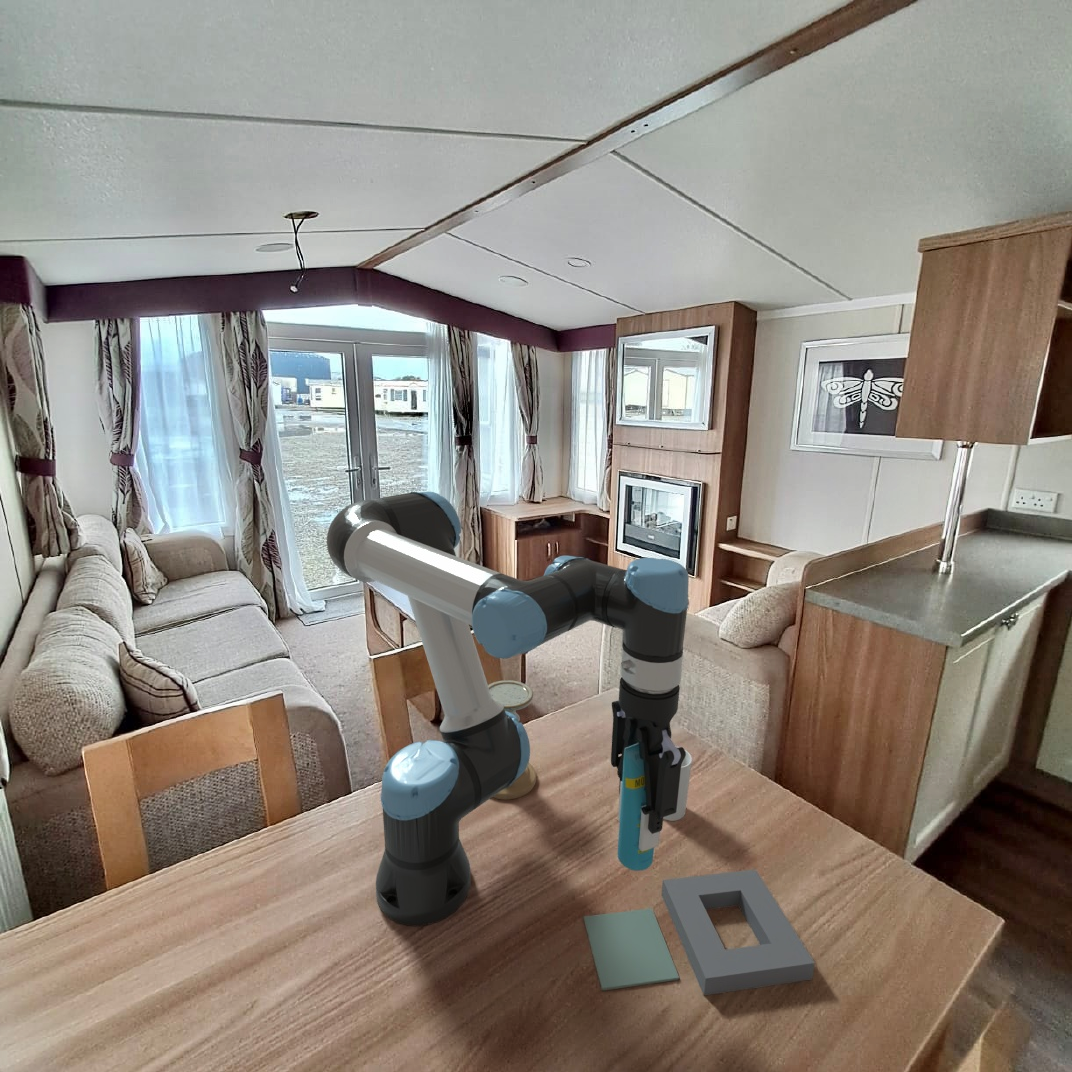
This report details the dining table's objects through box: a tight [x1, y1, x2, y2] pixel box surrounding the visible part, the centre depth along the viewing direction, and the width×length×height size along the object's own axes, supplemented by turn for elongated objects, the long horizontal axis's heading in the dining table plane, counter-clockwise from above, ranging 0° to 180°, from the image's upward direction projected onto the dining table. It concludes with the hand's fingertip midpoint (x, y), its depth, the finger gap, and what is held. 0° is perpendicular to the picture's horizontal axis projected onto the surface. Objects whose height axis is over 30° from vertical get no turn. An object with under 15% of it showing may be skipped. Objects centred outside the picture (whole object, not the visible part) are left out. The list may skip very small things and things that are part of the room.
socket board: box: [661, 869, 816, 996], centre depth 87 cm, size 16×16×3 cm
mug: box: [663, 745, 693, 822], centre depth 112 cm, size 10×7×12 cm, turn 20°
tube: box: [616, 743, 655, 872], centre depth 78 cm, size 7×5×19 cm, turn 131°
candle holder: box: [488, 679, 537, 801], centre depth 117 cm, size 12×12×20 cm
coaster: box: [583, 908, 680, 991], centre depth 85 cm, size 11×11×1 cm
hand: (637, 832), depth 79 cm, fingers closed on tube, 5 cm apart
